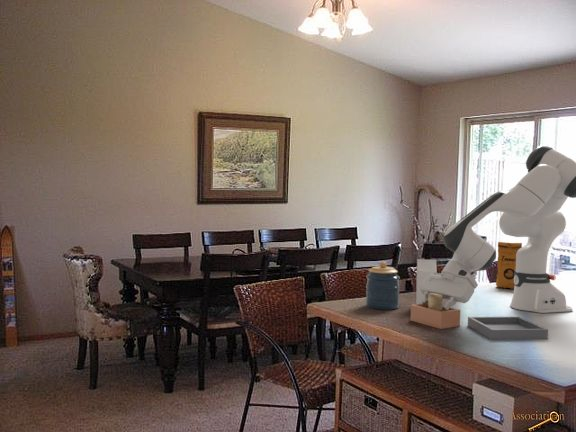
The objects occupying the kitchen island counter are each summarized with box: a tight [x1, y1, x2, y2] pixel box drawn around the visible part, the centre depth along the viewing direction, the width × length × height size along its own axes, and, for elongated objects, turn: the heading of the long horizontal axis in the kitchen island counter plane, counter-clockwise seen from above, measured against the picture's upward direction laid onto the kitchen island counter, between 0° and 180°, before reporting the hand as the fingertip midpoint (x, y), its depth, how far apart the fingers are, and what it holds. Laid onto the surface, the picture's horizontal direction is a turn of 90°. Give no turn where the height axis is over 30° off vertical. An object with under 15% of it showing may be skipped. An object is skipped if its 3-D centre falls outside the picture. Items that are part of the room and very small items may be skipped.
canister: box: [365, 261, 401, 311], centre depth 220 cm, size 13×13×18 cm
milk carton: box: [415, 258, 438, 304], centre depth 217 cm, size 7×7×19 cm
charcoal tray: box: [467, 316, 549, 341], centre depth 182 cm, size 18×18×3 cm
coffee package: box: [495, 241, 523, 290], centre depth 268 cm, size 10×12×22 cm
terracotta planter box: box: [410, 303, 461, 330], centre depth 193 cm, size 9×14×6 cm, turn 32°
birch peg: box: [428, 293, 443, 312], centre depth 193 cm, size 4×4×10 cm
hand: (433, 306), depth 193 cm, fingers open, 8 cm apart
